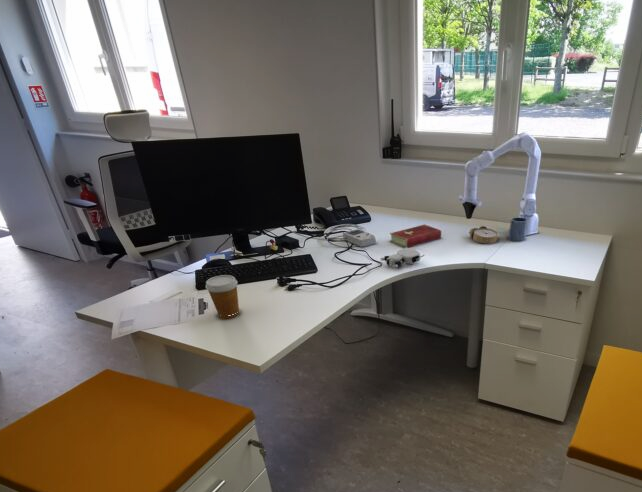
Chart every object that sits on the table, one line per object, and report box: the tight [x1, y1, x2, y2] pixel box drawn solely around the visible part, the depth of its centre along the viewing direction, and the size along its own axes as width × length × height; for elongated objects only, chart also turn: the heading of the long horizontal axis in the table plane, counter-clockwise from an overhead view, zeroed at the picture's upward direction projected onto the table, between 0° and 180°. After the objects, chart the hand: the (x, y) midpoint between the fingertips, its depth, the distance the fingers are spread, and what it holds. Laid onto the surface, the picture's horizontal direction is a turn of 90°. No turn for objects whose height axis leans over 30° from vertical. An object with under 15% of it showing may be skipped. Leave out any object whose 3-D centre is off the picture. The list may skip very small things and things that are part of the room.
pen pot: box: [508, 216, 527, 242], centre depth 210 cm, size 7×7×9 cm
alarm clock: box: [468, 225, 501, 245], centre depth 211 cm, size 11×5×15 cm
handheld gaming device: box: [342, 228, 377, 248], centre depth 208 cm, size 9×15×4 cm, turn 41°
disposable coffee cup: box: [205, 274, 240, 320], centre depth 145 cm, size 10×10×12 cm
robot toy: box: [380, 247, 425, 268], centre depth 185 cm, size 12×4×15 cm
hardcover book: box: [389, 223, 442, 248], centre depth 210 cm, size 12×21×4 cm, turn 130°
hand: (468, 218), depth 216 cm, fingers closed
